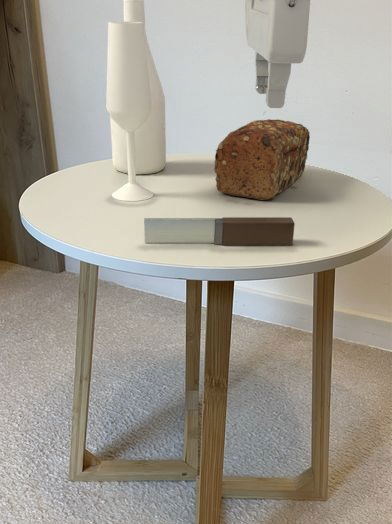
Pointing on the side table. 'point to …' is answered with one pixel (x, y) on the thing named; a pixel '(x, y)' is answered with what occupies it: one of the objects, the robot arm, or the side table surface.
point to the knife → (221, 230)
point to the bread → (261, 158)
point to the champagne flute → (128, 94)
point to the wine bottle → (153, 128)
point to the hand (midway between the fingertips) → (268, 99)
